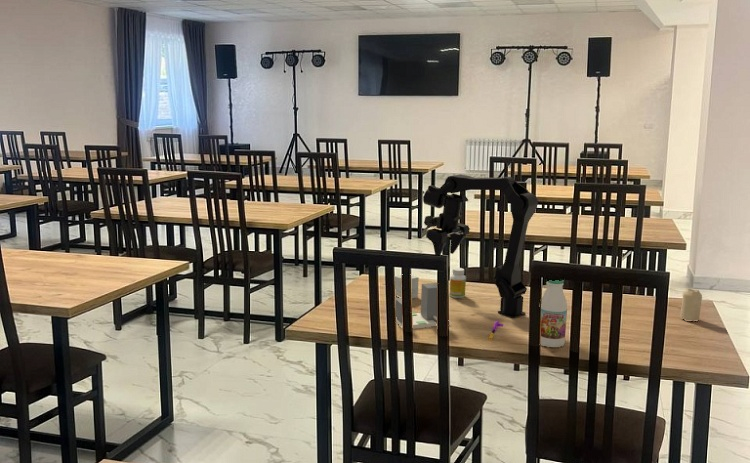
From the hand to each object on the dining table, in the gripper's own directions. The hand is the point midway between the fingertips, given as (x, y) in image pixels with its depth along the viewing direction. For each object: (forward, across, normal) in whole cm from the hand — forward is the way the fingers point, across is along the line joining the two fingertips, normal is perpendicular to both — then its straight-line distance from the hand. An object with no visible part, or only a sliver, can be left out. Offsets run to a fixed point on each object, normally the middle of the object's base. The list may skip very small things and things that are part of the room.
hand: (444, 255), depth 238 cm
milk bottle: (+9, +17, +49) cm, 52 cm away
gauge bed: (+14, +26, +10) cm, 31 cm away
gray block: (+12, +23, +12) cm, 29 cm away
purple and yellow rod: (+12, +18, +32) cm, 39 cm away
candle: (+6, -33, +74) cm, 81 cm away
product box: (+16, +7, -8) cm, 20 cm away
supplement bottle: (+15, -5, +5) cm, 16 cm away
